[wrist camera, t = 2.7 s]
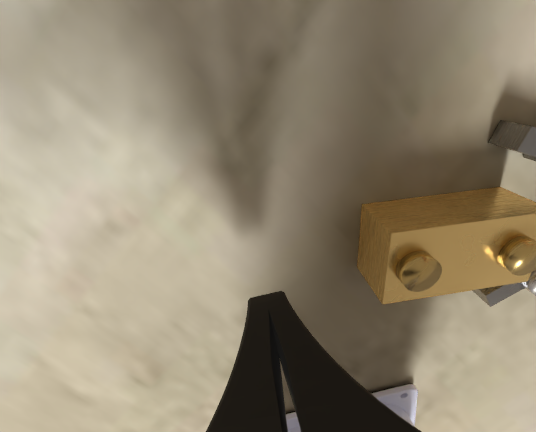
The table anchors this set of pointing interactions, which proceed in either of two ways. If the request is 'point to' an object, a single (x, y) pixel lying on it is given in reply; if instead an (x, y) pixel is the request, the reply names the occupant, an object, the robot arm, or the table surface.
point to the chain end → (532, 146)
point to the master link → (446, 243)
